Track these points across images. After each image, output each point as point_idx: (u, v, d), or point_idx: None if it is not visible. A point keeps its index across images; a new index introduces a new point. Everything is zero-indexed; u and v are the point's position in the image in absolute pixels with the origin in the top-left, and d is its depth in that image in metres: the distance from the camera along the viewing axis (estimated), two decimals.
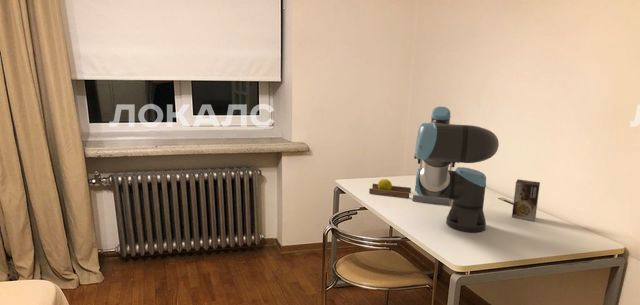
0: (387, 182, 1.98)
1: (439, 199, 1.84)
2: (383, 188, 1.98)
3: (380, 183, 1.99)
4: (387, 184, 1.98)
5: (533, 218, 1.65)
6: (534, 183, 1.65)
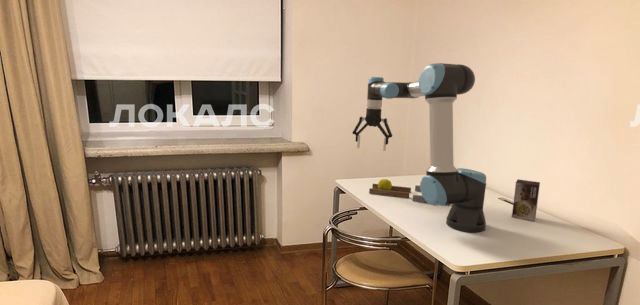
0: (387, 182, 1.98)
1: None
2: (383, 188, 1.98)
3: (380, 183, 1.99)
4: (387, 184, 1.98)
5: (533, 218, 1.65)
6: (534, 183, 1.65)
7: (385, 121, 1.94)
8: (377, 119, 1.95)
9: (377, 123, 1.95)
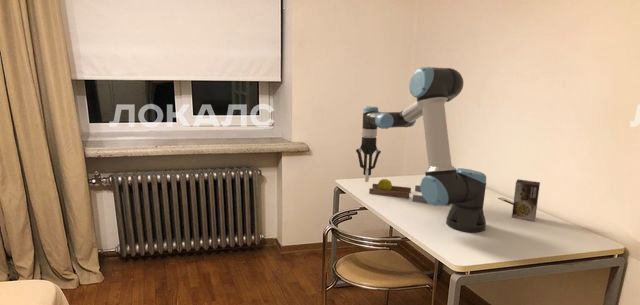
0: (387, 182, 1.98)
1: None
2: (383, 188, 1.98)
3: (380, 183, 1.99)
4: (387, 184, 1.98)
5: (533, 218, 1.65)
6: (534, 183, 1.65)
7: (378, 153, 1.98)
8: (373, 147, 1.98)
9: (370, 152, 1.98)
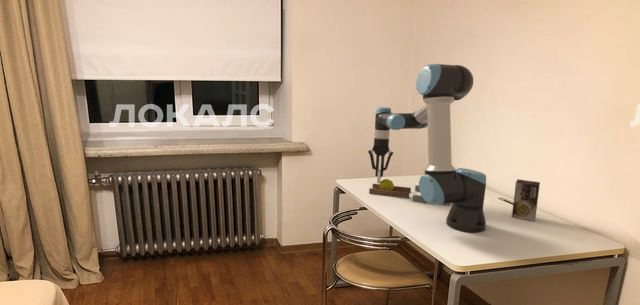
0: (389, 182, 1.98)
1: None
2: (385, 188, 1.97)
3: (382, 183, 1.99)
4: (389, 184, 1.97)
5: (533, 218, 1.65)
6: (534, 183, 1.65)
7: (390, 155, 1.96)
8: (386, 148, 1.96)
9: (383, 154, 1.96)
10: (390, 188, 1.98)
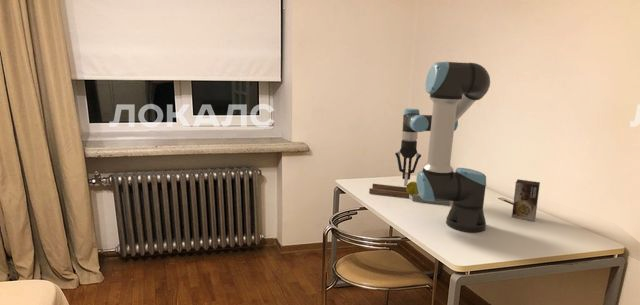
0: None
1: None
2: (414, 191, 1.94)
3: (410, 186, 1.95)
4: None
5: (533, 218, 1.65)
6: (534, 183, 1.65)
7: (418, 157, 1.92)
8: (413, 150, 1.92)
9: (411, 156, 1.92)
10: None
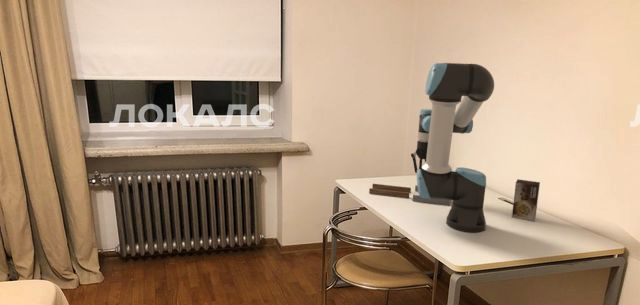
0: None
1: (439, 199, 1.84)
2: None
3: None
4: None
5: (533, 218, 1.65)
6: (534, 183, 1.65)
7: None
8: None
9: None
10: None
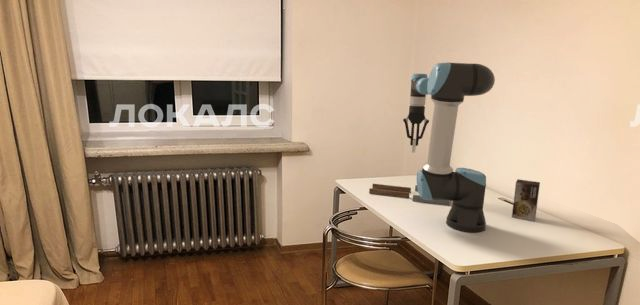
0: None
1: None
2: None
3: None
4: None
5: (533, 218, 1.65)
6: (534, 183, 1.65)
7: (427, 122, 1.91)
8: (421, 116, 1.92)
9: (419, 121, 1.92)
10: None
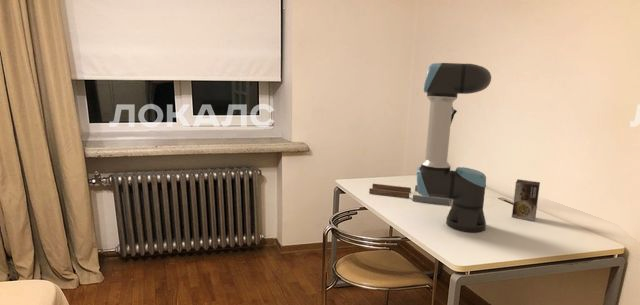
0: None
1: (439, 199, 1.84)
2: None
3: None
4: None
5: (533, 218, 1.65)
6: (534, 183, 1.65)
7: (454, 112, 2.00)
8: None
9: None
10: None
